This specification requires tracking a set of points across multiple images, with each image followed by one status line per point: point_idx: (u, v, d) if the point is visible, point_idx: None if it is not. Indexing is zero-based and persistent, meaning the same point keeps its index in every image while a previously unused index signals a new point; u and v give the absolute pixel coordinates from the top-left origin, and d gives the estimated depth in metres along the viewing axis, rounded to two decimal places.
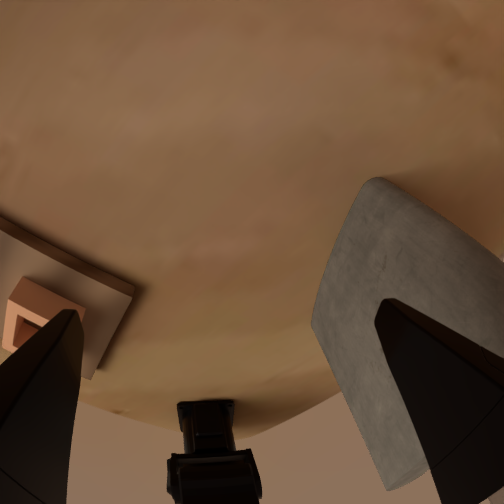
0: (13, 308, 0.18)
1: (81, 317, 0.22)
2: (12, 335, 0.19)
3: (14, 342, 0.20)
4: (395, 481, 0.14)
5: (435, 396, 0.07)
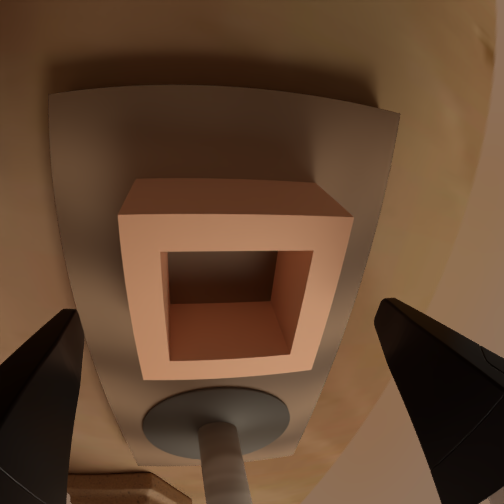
0: (159, 369, 0.10)
1: None
2: (252, 360, 0.10)
3: (287, 345, 0.11)
4: None
5: (435, 396, 0.07)
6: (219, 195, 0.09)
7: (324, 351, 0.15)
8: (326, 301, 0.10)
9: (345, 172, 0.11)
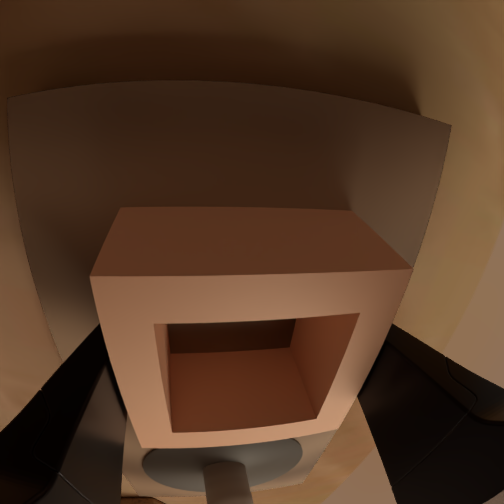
0: (160, 439, 0.07)
1: None
2: (272, 427, 0.08)
3: (313, 407, 0.08)
4: None
5: (394, 410, 0.07)
6: (233, 236, 0.06)
7: None
8: (365, 364, 0.07)
9: (387, 197, 0.09)
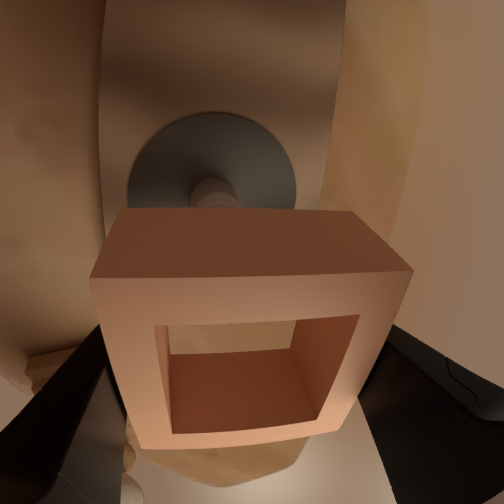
0: (160, 440, 0.07)
1: None
2: (272, 428, 0.08)
3: (313, 408, 0.08)
4: None
5: (393, 410, 0.07)
6: (234, 238, 0.06)
7: (323, 85, 0.15)
8: (365, 365, 0.07)
9: None
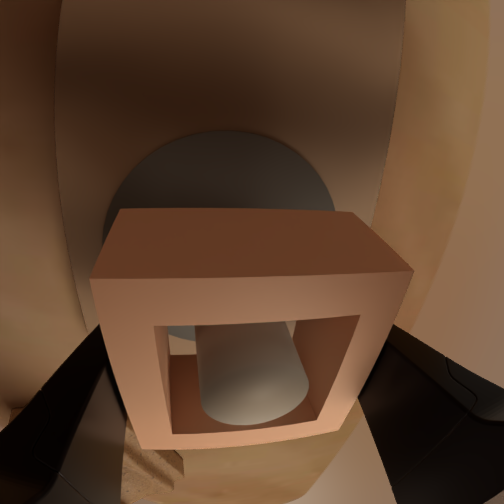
0: (160, 441, 0.07)
1: None
2: (272, 429, 0.08)
3: (313, 408, 0.08)
4: None
5: (393, 410, 0.07)
6: (234, 238, 0.06)
7: (380, 93, 0.10)
8: (366, 366, 0.07)
9: None
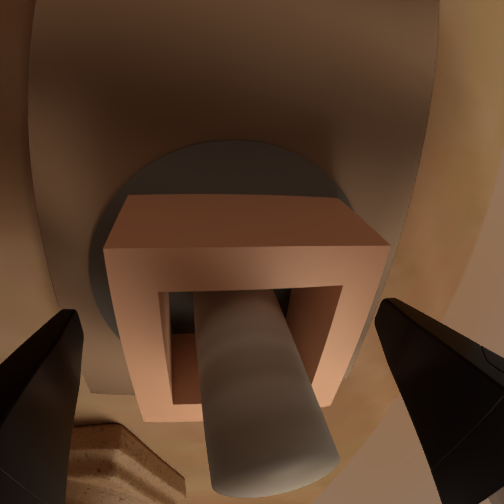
0: (162, 412, 0.08)
1: None
2: None
3: None
4: None
5: (435, 396, 0.07)
6: (228, 218, 0.07)
7: (413, 97, 0.08)
8: (352, 338, 0.08)
9: None
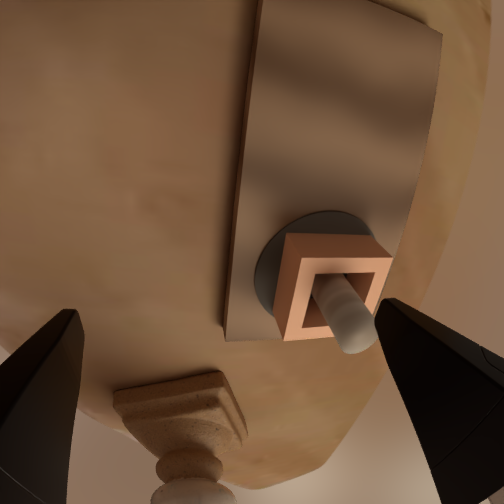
0: (294, 333, 0.20)
1: (291, 243, 0.18)
2: None
3: None
4: None
5: (435, 396, 0.07)
6: (335, 246, 0.19)
7: (407, 188, 0.20)
8: (376, 295, 0.19)
9: (418, 57, 0.15)
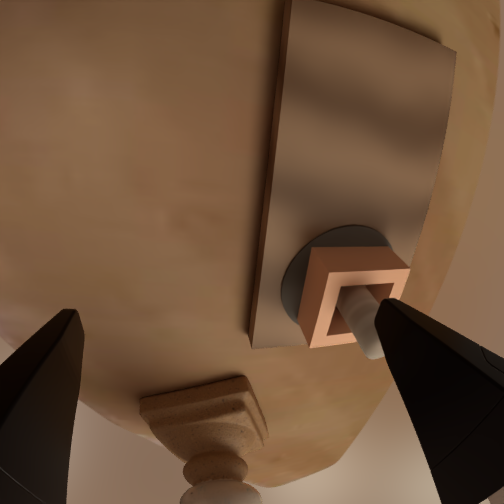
0: (320, 340, 0.21)
1: (317, 258, 0.19)
2: None
3: None
4: None
5: (435, 396, 0.07)
6: (357, 259, 0.20)
7: (422, 201, 0.21)
8: None
9: (434, 76, 0.16)
